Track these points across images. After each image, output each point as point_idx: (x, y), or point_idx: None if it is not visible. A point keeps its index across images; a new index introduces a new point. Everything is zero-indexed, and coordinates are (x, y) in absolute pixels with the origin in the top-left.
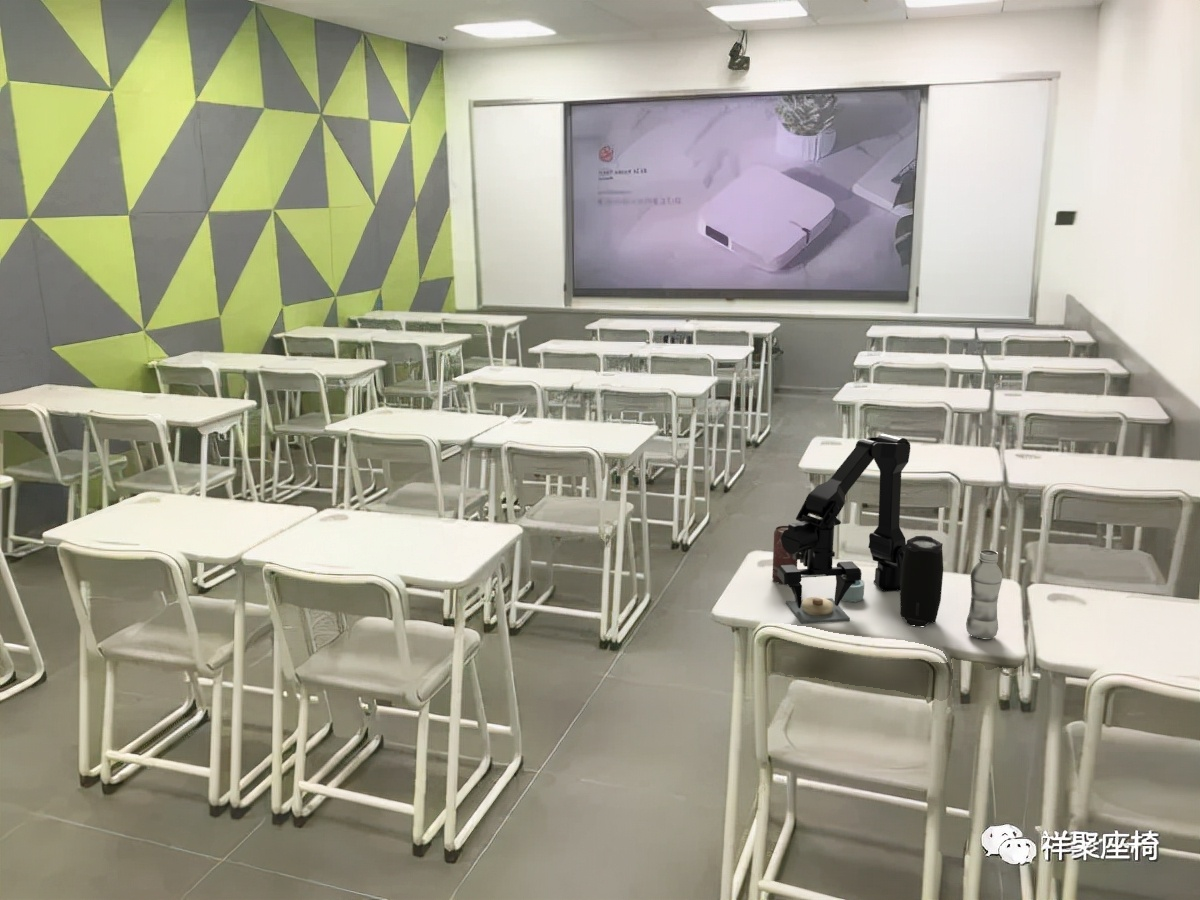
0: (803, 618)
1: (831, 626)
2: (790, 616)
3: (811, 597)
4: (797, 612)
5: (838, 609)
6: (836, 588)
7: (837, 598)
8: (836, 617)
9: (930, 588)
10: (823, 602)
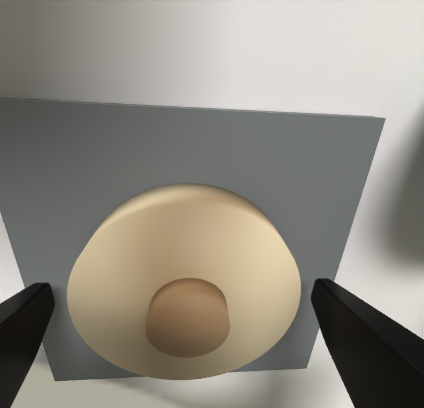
0: (70, 359)
1: (195, 389)
2: (6, 296)
3: (178, 208)
4: None
5: (312, 287)
6: (419, 394)
7: (339, 359)
8: None
9: None
10: (236, 301)
